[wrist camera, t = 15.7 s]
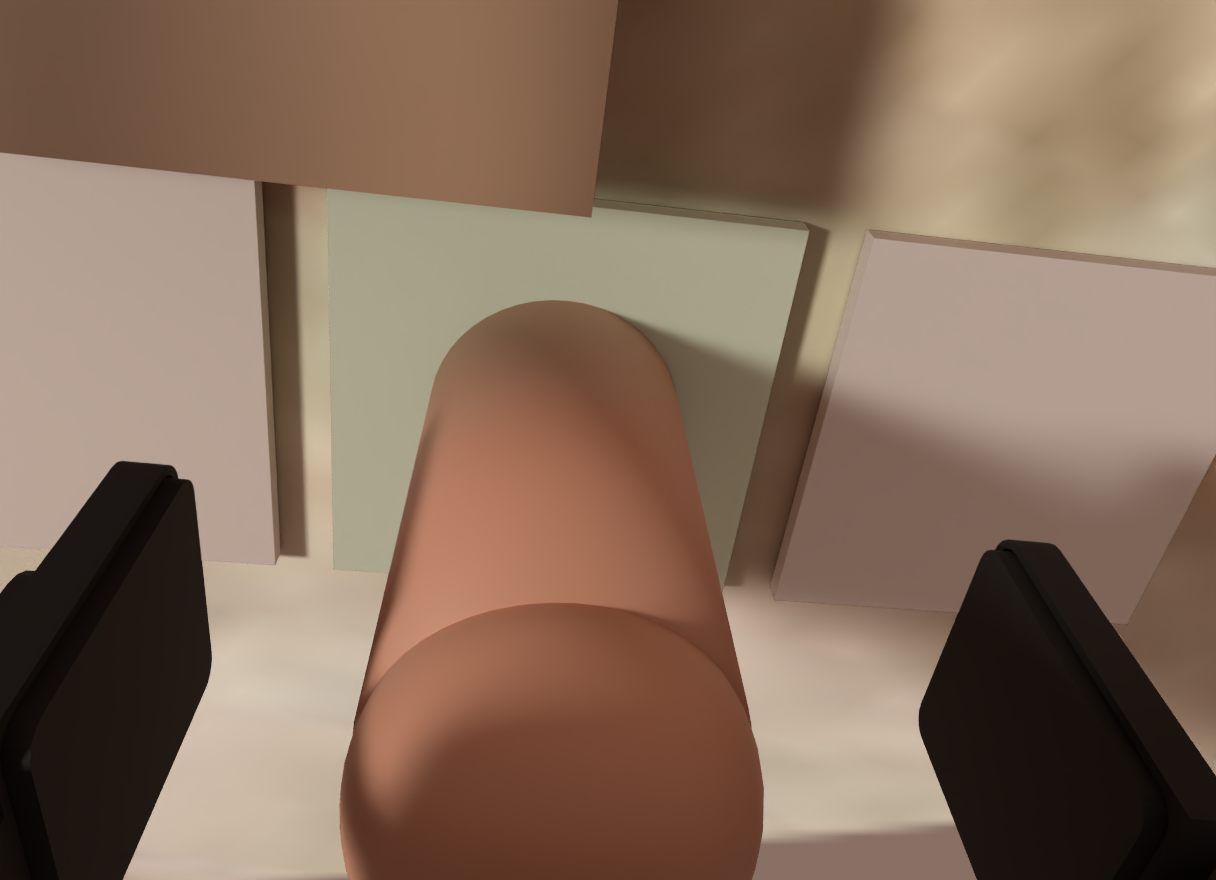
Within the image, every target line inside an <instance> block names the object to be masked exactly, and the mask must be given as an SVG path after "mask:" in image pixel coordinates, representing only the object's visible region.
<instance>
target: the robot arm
mask: <svg viewBox="0 0 1216 880" xmlns="http://www.w3.org/2000/svg"><path fill="white" fill-rule="evenodd" d="M211 662H212V652H211V642H210V633H209V624H208V614H207V605H206V595H205V586H204V576H203V567H202V558H201V548H200V539H199V529H198V520H197V511H196V501H195V492H194V486H193V484H192V482H191V481H190V480H189V479H179V478H178V474H177V471H176V469H175V467H173V466H172V465H164V464H153V463H141V462H130V461H119V462H116V463H115V464H114V465H113V466H112V468H111V469H110V470H109V472H108V473H107V474H106V476H105V477H104V478H103V480H102V481H101V482H100V484H99V485H98V487H97V488H96V489H95V491H94V492H93V493H92V495H91V496H90V497H89V499H88V500H87V501H86V503H85V504H84V506H83V507H82V508H81V510H80V511H79V512H78V514H77V515H76V516H75V518H74V519H73V520H72V522H71V523H70V525H69V526H68V527H67V529H66V530H65V531H64V533H63V534H62V535H61V537H60V538H59V539H58V541H57V542H56V544H55V545H54V546H53V548H52V549H51V550H50V552H49V553H48V554H47V556H46V557H45V558H44V560H43V561H42V563H41V564H40V565H39V567H38V568H37V569H36V571H24V572H22V573H19V574H17V575H16V576H15V577H14V578H13V579H12V580H11V581H10V582H9V583H8V584H7V585H6V587H5V588H4V589H3V591H2V592H1V593H0V880H123V878H124V875H125V873H126V871H127V868H128V866H129V864H130V862H131V859H132V857H133V855H134V852H135V850H136V848H137V845H138V843H139V841H140V839H141V836H142V834H143V832H144V829H145V827H146V825H147V822H148V820H149V818H150V815H151V813H152V811H153V809H154V806H155V804H156V802H157V799H158V797H159V795H160V792H161V790H162V788H163V785H164V783H165V781H166V779H167V776H168V774H169V772H170V769H171V767H172V765H173V762H174V760H175V758H176V755H177V753H178V751H179V749H180V746H181V744H182V742H183V739H184V737H185V735H186V732H187V730H188V728H189V726H190V723H191V721H192V719H193V716H194V714H195V712H196V709H197V707H198V705H199V702H200V700H201V698H202V696H203V693H204V691H205V689H206V686H207V683H208V680H209V676H210V670H211ZM919 729H920V734H921V737H922V740H923V742H924V745H925V747H926V750H927V753H928V755H929V758H930V760H931V763H932V765H933V768H934V770H935V773H936V776H937V778H938V781H939V783H940V786H941V788H942V791H943V794H944V796H945V799H946V801H947V804H948V806H949V809H950V812H951V814H952V817H953V819H954V822H955V824H956V827H957V829H958V832H959V835H960V837H961V840H962V842H963V845H964V847H965V850H966V853H967V855H968V858H969V860H970V863H971V865H972V868H973V871H974V873H975V876H976V878H977V880H1216V776H1215V774H1214V773H1213V771H1212V770H1211V768H1210V767H1209V765H1208V764H1207V763H1206V761H1205V760H1204V758H1203V757H1202V755H1201V754H1200V752H1199V751H1198V749H1197V748H1196V747H1195V745H1194V744H1193V742H1192V741H1191V739H1190V738H1189V736H1188V735H1187V733H1186V732H1185V731H1184V729H1183V728H1182V726H1181V725H1180V723H1179V722H1178V720H1177V719H1176V718H1175V716H1174V715H1173V713H1172V712H1171V710H1170V709H1169V707H1168V706H1167V704H1166V703H1165V702H1164V700H1163V699H1162V697H1161V696H1160V694H1159V693H1158V691H1157V690H1156V688H1155V687H1154V686H1153V684H1152V683H1151V681H1150V680H1149V678H1148V677H1147V675H1146V674H1145V672H1144V671H1143V670H1142V668H1141V667H1140V665H1139V664H1138V662H1137V661H1136V659H1135V658H1134V657H1133V655H1132V654H1131V652H1130V651H1129V649H1128V648H1127V646H1126V645H1125V643H1124V642H1123V641H1122V639H1121V638H1120V636H1119V635H1118V633H1117V632H1116V630H1115V629H1114V627H1113V626H1112V625H1111V623H1110V622H1109V620H1108V619H1107V617H1106V616H1105V614H1104V613H1103V611H1102V610H1101V609H1100V607H1099V606H1098V604H1097V603H1096V601H1095V600H1094V598H1093V597H1092V596H1091V594H1090V593H1089V591H1088V590H1087V588H1086V587H1085V585H1084V584H1083V582H1082V581H1081V580H1080V578H1079V577H1078V575H1077V574H1076V572H1075V571H1074V569H1073V568H1072V566H1071V565H1070V564H1069V562H1068V561H1067V559H1066V558H1065V556H1064V555H1063V553H1062V552H1061V551H1060V549H1059V548H1058V547H1057V546H1056V545H1054V544H1051V543H1044V542H1033V541H1022V540H1010V539H1007V540H1003V541H1002V542H1000V543H999V544H998V545H997V547H996V549H995V550H987V551H986V552H985V553H984V554H983V555H982V557H981V559H980V561H979V564H978V566H977V568H976V571H975V573H974V576H973V578H972V581H971V583H970V586H969V588H968V590H967V593H966V595H965V598H964V600H963V603H962V605H961V607H960V610H959V612H958V615H957V617H956V620H955V622H954V625H953V627H952V629H951V632H950V634H949V637H948V639H947V642H946V644H945V646H944V649H943V651H942V654H941V656H940V659H939V661H938V664H937V666H936V668H935V671H934V673H933V676H932V678H931V681H930V683H929V686H928V688H927V690H926V693H925V695H924V698H923V700H922V703H921V706H920V709H919Z"/></svg>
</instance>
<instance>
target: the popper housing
mask: <svg viewBox="0 0 1216 880" xmlns="http://www.w3.org/2000/svg"><path fill="white" fill-rule="evenodd" d="M617 7H618V0H0V153H9V154H18V155H27V156H36V157H45V158H54V159H63V160H72V161H81V162H91V163H100V164H109V165H118V166H127V167H136V168H145V169H154V170H163V171H172V172H181V173H190V174H200V175H209V176H218V177H227V178H236V179H245V180H254V181H263V182H272V183H281V184H290V185H299V186H308V187H318V188H327V189H336V190H345V191H354V192H363V193H372V194H381V195H390V196H399V197H408V198H417V199H427V200H436V201H445V202H454V203H463V204H472V205H481V206H490V207H499V208H508V209H517V210H526V211H536V212H545V213H554V214H563V215H572V216H581V217H590V218H592V210H593V202H594V194H595V185H596V177H597V169H598V161H599V153H600V145H601V137H602V129H603V121H604V113H605V105H606V96H607V88H608V80H609V72H610V64H611V56H612V48H613V40H614V32H615V24H616V15H617Z"/></svg>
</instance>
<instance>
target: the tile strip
mask: <svg viewBox="0 0 1216 880" xmlns="http://www.w3.org/2000/svg"><path fill="white" fill-rule="evenodd" d="M327 215H328V275H329V335H330V395H331V455H332V515H333V570H347V571H361V572H376V573H389V570H390V566H391V562H392V558H393V553H394V549H395V545H396V541H397V536H398V532H399V528H400V523H401V519H402V515H403V511H404V506H405V502H406V498H407V493H408V489H409V485H410V481H411V476H412V472H413V468H414V464H415V459H416V455H417V451H418V446H419V442H420V438H421V434H422V429H423V425H424V421H425V416H426V412H427V408H428V404H429V399H430V395H431V391H432V387H433V383H434V380H435V376H436V374H437V371H438V369H439V367H440V365H441V363H442V361H443V359H444V358H445V356H446V355H447V353H448V351H449V350H450V348H451V347H452V346H453V345H454V344H455V343H456V341H457V340H458V339H459V338H460V337H461V336H462V335H463V334H464V333H466V332H467V331H468V330H469V329H470V328H471V327H472V326H474V325H476V324H477V323H479V322H480V321H482V320H483V319H485V318H486V317H488V316H490V315H492V314H494V313H496V312H498V311H501V310H503V309H506V308H509V307H512V306H515V305H519V304H524V303H529V302H533V301H545V300H561V301H572V302H579V303H585V304H588V305H592V306H595V307H598V308H602V309H604V310H606V311H608V312H611V313H613V314H615V315H617V316H619V317H621V318H622V319H624V320H625V321H627V322H629V323H630V324H632V325H633V326H634V327H636V328H637V329H638V330H639V331H641V332H642V333H643V334H644V335H645V336H646V337H647V338H648V339H649V340H650V341H651V342H652V343H653V344H654V346H655V347H656V349H657V350H658V351H659V353H660V354H661V356H662V357H663V359H664V361H665V363H666V365H667V366H668V368H669V370H670V373H671V376H672V379H673V382H674V385H675V389H676V394H677V398H678V403H679V407H680V411H681V416H682V420H683V424H684V429H685V433H686V438H687V442H688V446H689V451H690V455H691V459H692V464H693V468H694V473H695V477H696V481H697V486H698V490H699V494H700V499H701V503H702V508H703V512H704V516H705V521H706V525H707V530H708V534H709V538H710V543H711V547H712V551H713V556H714V560H715V565H716V569H717V573H718V578H719V582H720V586H721V591H722V592H723V588H724V584H725V580H726V575H727V571H728V567H729V563H730V559H731V555H732V551H733V546H734V542H735V538H736V534H737V530H738V526H739V522H740V517H741V513H742V509H743V505H744V501H745V497H746V492H747V488H748V484H749V480H750V476H751V472H752V468H753V463H754V459H755V455H756V451H757V447H758V443H759V439H760V434H761V430H762V426H763V422H764V418H765V414H766V409H767V405H768V401H769V397H770V393H771V389H772V385H773V380H774V376H775V372H776V368H777V364H778V360H779V356H780V351H781V347H782V343H783V339H784V335H785V331H786V326H787V322H788V318H789V314H790V310H791V306H792V302H793V297H794V293H795V289H796V285H797V281H798V277H799V273H800V268H801V264H802V260H803V256H804V252H805V248H806V243H807V239H808V235H809V230H808V228H807V227H806V225H805V224H804V222H796V221H787V220H778V219H769V218H760V217H752V216H743V215H734V214H725V213H716V212H707V211H698V210H689V209H680V208H671V207H662V206H654V205H645V204H636V203H627V202H618V201H609V200H600V199H594V202H593V210H592V218H590V217H581V216H572V215H563V214H554V213H545V212H536V211H526V210H517V209H508V208H499V207H490V206H481V205H472V204H463V203H454V202H445V201H436V200H427V199H417V198H408V197H399V196H390V195H381V194H372V193H363V192H354V191H345V190H336V189H327ZM1215 455H1216V269H1215V268H1206V267H1197V266H1188V265H1179V264H1170V263H1161V262H1152V261H1144V260H1135V259H1126V258H1117V257H1108V256H1099V255H1090V254H1081V253H1072V252H1063V251H1054V250H1046V249H1037V248H1028V247H1019V246H1010V245H1001V244H992V243H983V242H974V241H965V240H956V239H948V238H939V237H930V236H921V235H912V234H903V233H894V232H885V231H876V230H867V231H866V235H865V239H864V242H863V246H862V250H861V253H860V257H859V261H858V264H857V268H856V272H855V276H854V279H853V283H852V287H851V290H850V294H849V298H848V301H847V305H846V309H845V312H844V316H843V320H842V323H841V327H840V331H839V334H838V338H837V342H836V346H835V349H834V353H833V357H832V360H831V364H830V368H829V371H828V375H827V379H826V382H825V386H824V390H823V393H822V397H821V401H820V404H819V408H818V412H817V416H816V419H815V423H814V427H813V430H812V434H811V438H810V441H809V445H808V449H807V452H806V456H805V460H804V463H803V467H802V471H801V474H800V478H799V482H798V485H797V489H796V493H795V497H794V500H793V504H792V508H791V511H790V515H789V519H788V522H787V526H786V530H785V533H784V537H783V541H782V544H781V548H780V552H779V555H778V559H777V563H776V567H775V570H774V574H773V578H772V581H771V585H770V587H771V591H772V594H773V598H774V600H780V601H794V602H808V603H823V604H837V605H852V606H866V607H881V608H895V609H910V610H924V611H938V612H953V613H958V612H959V610H960V607H961V605H962V603H963V600H964V598H965V595H966V593H967V590H968V588H969V586H970V583H971V581H972V578H973V576H974V573H975V571H976V568H977V566H978V564H979V561H980V559H981V557H982V555H983V554H984V553H985V552H986V551H987V550H995V549H996V547H997V545H998V544H999V543H1000V542H1002V541H1003V540H1007V539H1010V540H1022V541H1033V542H1044V543H1051V544H1054V545H1056V546H1057V547H1058V548H1059V549H1060V551H1061V552H1062V553H1063V555H1064V556H1065V558H1066V559H1067V561H1068V562H1069V564H1070V565H1071V566H1072V568H1073V569H1074V571H1075V572H1076V574H1077V575H1078V577H1079V578H1080V580H1081V581H1082V582H1083V584H1084V585H1085V587H1086V588H1087V590H1088V591H1089V593H1090V594H1091V596H1092V597H1093V598H1094V600H1095V601H1096V603H1097V604H1098V606H1099V607H1100V609H1101V610H1102V611H1103V613H1104V614H1105V616H1106V617H1107V619H1108V620H1109V622H1110V623H1112V624H1126V625H1127V624H1128V622H1129V620H1130V618H1131V616H1132V614H1133V612H1134V610H1135V608H1136V607H1137V605H1138V603H1139V601H1140V599H1141V597H1142V595H1143V593H1144V591H1145V589H1146V587H1147V585H1148V583H1149V582H1150V580H1151V578H1152V576H1153V574H1154V572H1155V570H1156V568H1157V566H1158V564H1159V562H1160V560H1161V558H1162V557H1163V555H1164V553H1165V551H1166V549H1167V547H1168V545H1169V543H1170V541H1171V539H1172V537H1173V535H1174V534H1175V532H1176V530H1177V528H1178V526H1179V524H1180V522H1181V520H1182V518H1183V516H1184V514H1185V512H1186V510H1187V509H1188V507H1189V505H1190V503H1191V501H1192V499H1193V497H1194V495H1195V493H1196V491H1197V489H1198V487H1199V485H1200V484H1201V482H1202V480H1203V478H1204V476H1205V474H1206V472H1207V470H1208V468H1209V466H1210V464H1211V462H1212V460H1213V459H1214V457H1215ZM119 461H130V462H141V463H153V464H164V465H172V466H173V467H175V469H176V471H177V474H178V478H179V479H189V480H190V481H191V482H192V484H193V486H194V492H195V501H196V511H197V520H198V529H199V539H200V548H201V558H202V561H217V562H231V563H246V564H260V565H276V562H277V560H278V557H279V554H280V552H281V550H280V530H279V510H278V490H277V470H276V451H275V431H274V411H273V391H272V372H271V352H270V332H269V312H268V292H267V273H266V253H265V233H264V213H263V193H262V181H254V180H245V179H236V178H227V177H218V176H209V175H200V174H190V173H181V172H172V171H163V170H154V169H145V168H136V167H127V166H118V165H109V164H100V163H91V162H81V161H72V160H63V159H54V158H45V157H36V156H27V155H18V154H9V153H0V547H15V548H29V549H44V550H51V549H52V548H53V546H54V545H55V544H56V542H57V541H58V539H59V538H60V537H61V535H62V534H63V533H64V531H65V530H66V529H67V527H68V526H69V525H70V523H71V522H72V520H73V519H74V518H75V516H76V515H77V514H78V512H79V511H80V510H81V508H82V507H83V506H84V504H85V503H86V501H87V500H88V499H89V497H90V496H91V495H92V493H93V492H94V491H95V489H96V488H97V487H98V485H99V484H100V482H101V481H102V480H103V478H104V477H105V476H106V474H107V473H108V472H109V470H110V469H111V468H112V466H113V465H114V464H115V463H116V462H119Z"/></svg>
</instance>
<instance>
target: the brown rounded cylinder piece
mask: <svg viewBox="0 0 1216 880" xmlns="http://www.w3.org/2000/svg"><path fill="white" fill-rule="evenodd" d="M763 798H764V787H763V780H762V773H761V766H760V760H759V755H758V749H757V745H756V742H755V739H754V736H753V732H752V729H751V721H750V715H749V709H748V705H747V700H746V696H745V692H744V687H743V683H742V678H741V674H740V670H739V665H738V661H737V657H736V652H735V648H734V643H733V639H732V635H731V630H730V626H729V621H728V617H727V613H726V608H725V604H724V600H723V595H722V591H721V586H720V582H719V578H718V573H717V569H716V565H715V560H714V556H713V551H712V547H711V543H710V538H709V534H708V530H707V525H706V521H705V516H704V512H703V508H702V503H701V499H700V494H699V490H698V486H697V481H696V477H695V473H694V468H693V464H692V459H691V455H690V451H689V446H688V442H687V438H686V433H685V429H684V424H683V420H682V416H681V411H680V407H679V403H678V398H677V394H676V389H675V385H674V382H673V379H672V376H671V373H670V370H669V368H668V366H667V365H666V363H665V361H664V359H663V357H662V356H661V354H660V353H659V351H658V350H657V349H656V347H655V346H654V344H653V343H652V342H651V341H650V340H649V339H648V338H647V337H646V336H645V335H644V334H643V333H642V332H641V331H639V330H638V329H637V328H636V327H634V326H633V325H632V324H630V323H629V322H627V321H625V320H624V319H622V318H621V317H619V316H617V315H615V314H613V313H611V312H608V311H606V310H604V309H602V308H598V307H595V306H592V305H588V304H585V303H579V302H572V301H561V300H545V301H533V302H529V303H524V304H519V305H515V306H512V307H509V308H506V309H503V310H501V311H498V312H496V313H494V314H492V315H490V316H488V317H486V318H485V319H483V320H482V321H480V322H479V323H477V324H476V325H474V326H472V327H471V328H470V329H469V330H468V331H467V332H466V333H464V334H463V335H462V336H461V337H460V338H459V339H458V340H457V341H456V343H455V344H454V345H453V346H452V347H451V348H450V350H449V351H448V353H447V355H446V356H445V358H444V359H443V361H442V363H441V365H440V367H439V369H438V371H437V374H436V376H435V380H434V383H433V387H432V391H431V395H430V399H429V404H428V408H427V412H426V416H425V421H424V425H423V429H422V434H421V438H420V442H419V446H418V451H417V455H416V459H415V464H414V468H413V472H412V476H411V481H410V485H409V489H408V493H407V498H406V502H405V506H404V511H403V515H402V519H401V523H400V528H399V532H398V536H397V541H396V545H395V549H394V553H393V558H392V562H391V566H390V570H389V575H388V579H387V583H386V588H385V592H384V596H383V600H382V605H381V609H380V613H379V618H378V622H377V626H376V630H375V635H374V639H373V643H372V648H371V652H370V656H369V660H368V665H367V669H366V673H365V677H364V682H363V686H362V690H361V695H360V699H359V703H358V707H357V712H356V716H355V720H354V728H353V736H352V739H351V742H350V746H349V749H348V753H347V756H346V760H345V763H344V770H343V777H342V784H341V794H340V834H341V843H342V850H343V855H344V861H345V866H346V871H347V874H348V878H349V880H752V877H753V874H754V871H755V867H756V863H757V858H758V854H759V848H760V843H761V838H762V832H763Z"/></svg>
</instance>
